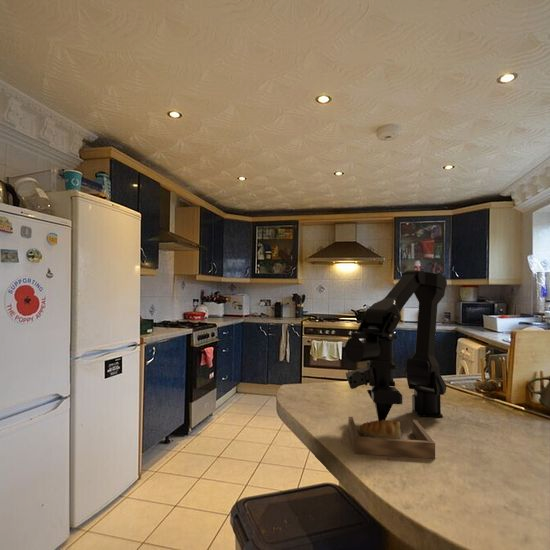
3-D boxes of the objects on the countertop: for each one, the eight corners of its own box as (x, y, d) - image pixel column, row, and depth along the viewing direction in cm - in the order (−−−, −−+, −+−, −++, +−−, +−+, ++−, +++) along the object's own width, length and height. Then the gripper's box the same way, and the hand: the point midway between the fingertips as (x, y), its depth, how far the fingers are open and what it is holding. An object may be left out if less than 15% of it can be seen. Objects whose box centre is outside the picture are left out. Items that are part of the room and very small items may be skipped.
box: (416, 432, 85) (416, 420, 85) (435, 458, 72) (435, 443, 72) (348, 429, 87) (348, 416, 87) (354, 453, 74) (354, 438, 74)
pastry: (358, 439, 82) (358, 421, 82) (360, 428, 88) (360, 413, 88) (402, 444, 79) (402, 426, 79) (401, 433, 85) (401, 417, 85)
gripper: (345, 351, 98) (344, 409, 97) (351, 364, 80) (350, 435, 79) (386, 352, 97) (386, 411, 96) (402, 366, 78) (403, 439, 77)
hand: (381, 423), depth 87 cm, fingers closed
